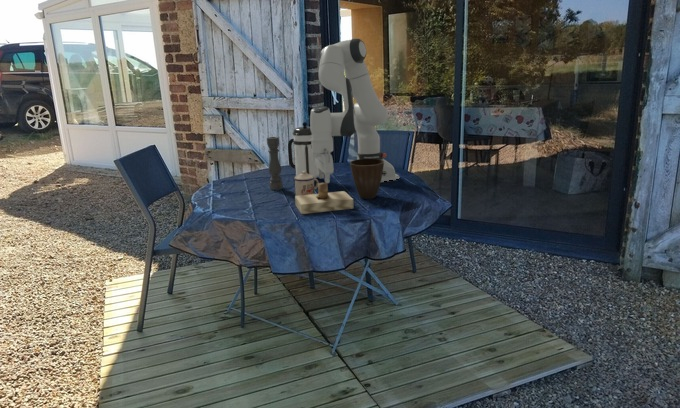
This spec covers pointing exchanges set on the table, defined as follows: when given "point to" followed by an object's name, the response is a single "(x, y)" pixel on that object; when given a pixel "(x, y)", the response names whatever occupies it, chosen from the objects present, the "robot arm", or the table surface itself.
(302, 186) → the teacup with lid
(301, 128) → the coffee press
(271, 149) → the candle holder
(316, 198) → the block
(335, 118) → the robot arm
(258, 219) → the table surface
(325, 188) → the peg
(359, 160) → the plant pot
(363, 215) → the table surface
